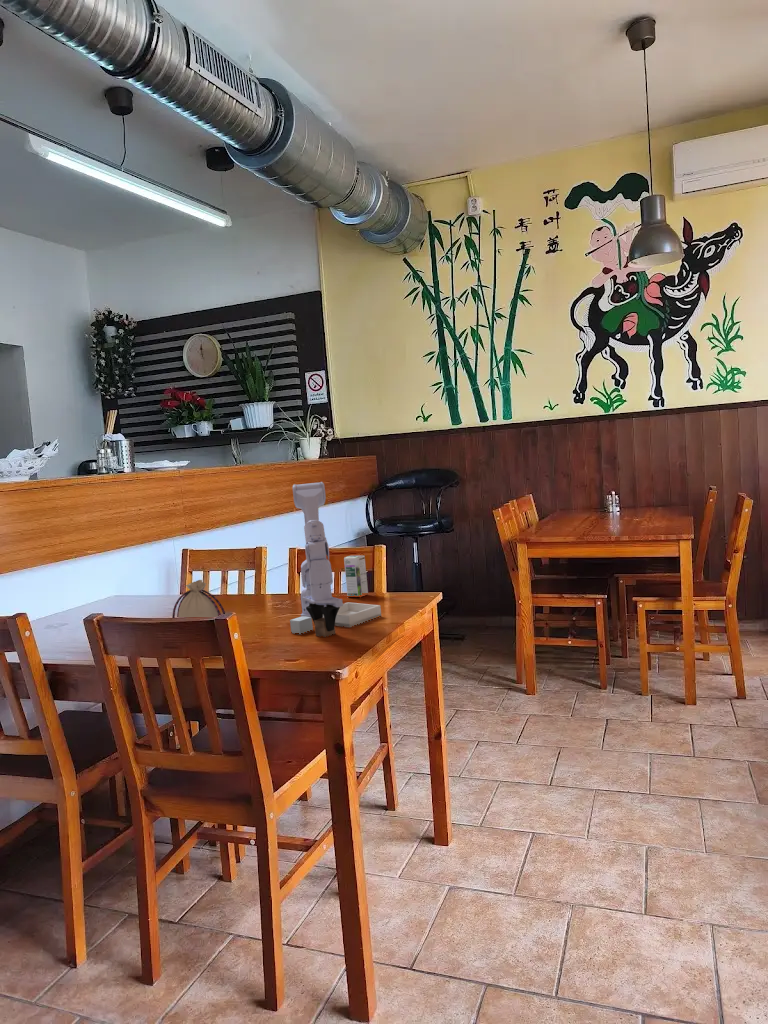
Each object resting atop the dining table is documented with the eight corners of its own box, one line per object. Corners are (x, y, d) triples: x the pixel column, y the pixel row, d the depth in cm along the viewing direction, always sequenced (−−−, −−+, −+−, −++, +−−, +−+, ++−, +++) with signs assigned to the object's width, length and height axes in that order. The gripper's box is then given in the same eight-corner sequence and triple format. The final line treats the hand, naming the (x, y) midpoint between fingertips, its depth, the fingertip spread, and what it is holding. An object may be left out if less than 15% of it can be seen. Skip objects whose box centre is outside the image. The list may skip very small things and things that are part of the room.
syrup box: (346, 598, 260) (342, 557, 259) (355, 594, 265) (351, 554, 264) (360, 598, 257) (356, 557, 256) (368, 594, 263) (365, 554, 261)
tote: (317, 623, 225) (316, 612, 224) (349, 613, 235) (348, 602, 235) (349, 627, 215) (348, 615, 215) (381, 616, 226) (380, 605, 225)
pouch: (248, 642, 209) (240, 576, 207) (233, 650, 201) (226, 582, 200) (172, 643, 217) (165, 579, 215) (156, 651, 209) (148, 585, 207)
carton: (291, 633, 216) (289, 620, 215) (304, 629, 219) (302, 616, 219) (300, 634, 213) (298, 621, 213) (313, 630, 217) (311, 617, 216)
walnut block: (315, 635, 209) (314, 620, 209) (325, 632, 212) (324, 617, 212) (325, 637, 207) (323, 621, 206) (335, 633, 209) (333, 618, 209)
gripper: (292, 584, 210) (297, 630, 211) (327, 587, 200) (332, 635, 201) (310, 579, 215) (315, 625, 216) (345, 582, 206) (350, 629, 207)
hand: (325, 629), depth 209 cm, fingers closed on walnut block, 4 cm apart
